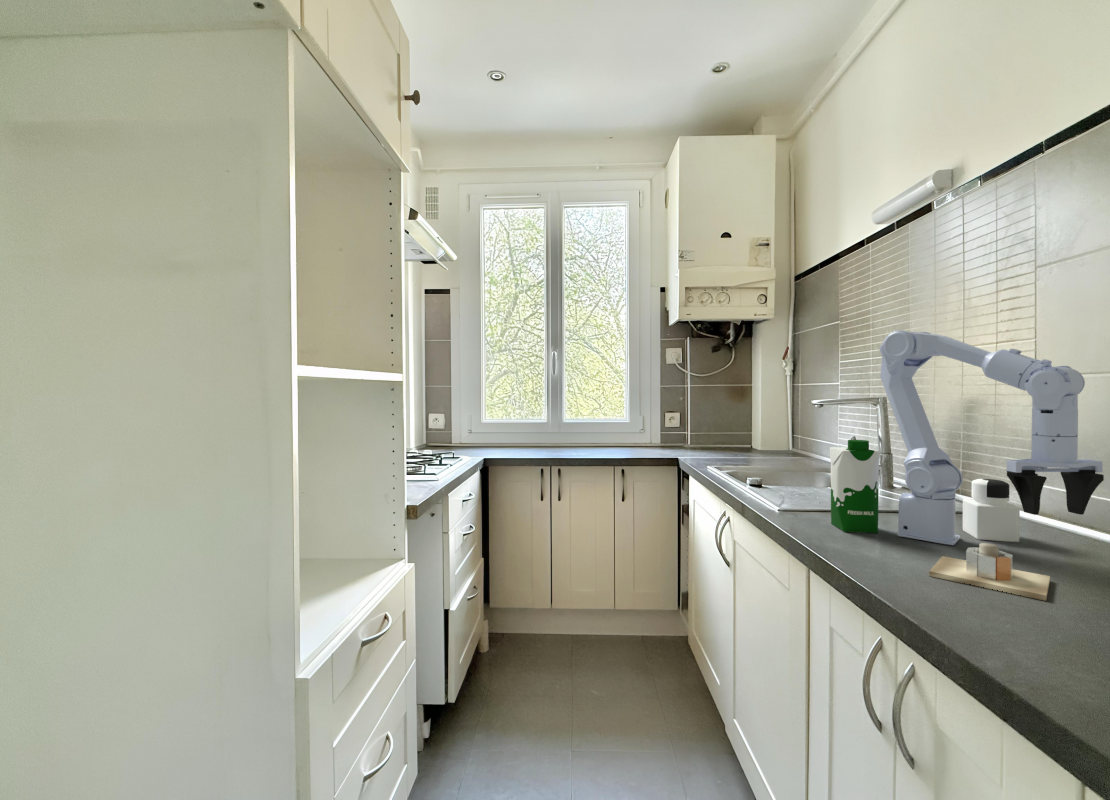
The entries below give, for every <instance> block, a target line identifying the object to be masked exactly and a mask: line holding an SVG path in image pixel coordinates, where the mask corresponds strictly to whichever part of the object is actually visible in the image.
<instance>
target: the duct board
mask: <svg viewBox="0 0 1110 800" xmlns="http://www.w3.org/2000/svg"><path fill="white" fill-rule="evenodd" d="M999 550H1000V549H999V545H997V544H993V543H987V542H981V543H979V554H982V555H988V556H994V557H999ZM928 576H929V577H933V578H937V579H942V580H947V581H951V582H956V583H961V584H964V583H965V585H969V584H971V585H970V586H974V585H975V586H974V587H978V586H979V588H983V587H984V589H988V590H992V589H993V591H997V590H998V591H999V592H1002V591H1003V592H1002V593H1006V592H1007V593H1008V594H1011V593H1012V595H1017V596H1020V595H1021V597H1024V598H1025V597H1026V598H1030V599H1036V600H1040V601H1045V602H1046V601H1047V598H1048V595H1049V594H1048V593H1049V588H1050V584H1051V576H1050V575H1046V574H1039V573H1035V572H1029V571H1024V570H1019V569H1015V568H1013V577H1012V580H992V579H987V578H982V577H978V576H975V575H973V574H971V573H969V572H967V571H966V559H960V558H955V557H950V556H945V555H944V556H943V555H941V557H940V558H939V559H938V560H937V562H935V564H934V565H933V566H932V567H931V568H930V569H929V571H928Z"/></svg>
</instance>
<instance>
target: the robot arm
mask: <svg viewBox="0 0 1110 800" xmlns="http://www.w3.org/2000/svg"><path fill="white" fill-rule="evenodd" d="M878 350H879V353H880V355H881V364H880V365H881V366H880V374H879V376H880V380H881V383H882V385H883V388H884V392H885V393H886V396H887V399H888V402H889V405H890V407H891V409H892V412H893V415H894V417H895V420H896V424H897V425H898V429H899V431H900V434H901V437H902V440H903V442H904V445H905V447H906V450H907V456H906V457H905V459H904V461H903V466H904V469H905V475H904V481H905V485H906V486H907V488H908V489H909V491H911V493H909V492H902V493H900V496H899V500H898V533H897V536H898V537H902V538H908V539H913V540H914V539H915V540H920V541H924V542H925V541H926V542H932V543H936V544H941V545H949V546H954V545H956V544H957V542H958V541H959V540H960V539H961V535H958V534H956V491H957V490H958V489H960V487H962V484H963V474H962V472H961V470H960V469H959V468H958V467H957V466H956V465H955V464H954V463H953V462H952V460H951V457H950V455H949V454H947V452H945V451H944V450H943V449H942V448H941V447H939V444H938V442H937V440H936V437H935V434H934V432H933V429H932V427H931V424H930V422H929V419H928V417H927V414H926V412H925V409H924V406H923V403H922V401H921V399H920V396H919V393H918V390H917V389H916V386H915V384H914V381H913V377H914V375H915V374H916V373H917V371H918V370H919V369H920V368H921V367H922V366H924V365H925V364H926V363H927V362H928V361H929V360H930V359H932V358H933V357H940V356H941V357H942V356H943V357H947V358H949V359H953V360H955V361H959V362H963V363H964V364H965V363H966V364H969V365H972V366H975V367H978V368H981V369H982V371H983V374H984V376H985V377H986V378H988V379H991V380H994V381H996V382H1000V383H1002V384H1005V385H1008V386H1010V387H1013V388H1016V389H1019V390H1021V391H1026V393H1027V394H1028V395H1029V396H1031V402H1032V404H1031V407H1032V408H1031V458H1024V459H1006V469H1005V470H1006V476H1007V477H1008V478H1007V479H1009V480H1010V482H1011V484H1012V485H1013V487H1014V488H1015V491H1016V493H1017V495H1018V497H1019V500H1020V503H1021V506H1022V510H1023V512H1024V513H1026V514H1030V515H1035V516H1037V515H1039V513H1040V509H1041V495H1042V491H1043V488H1044V485H1045V483H1046V481H1047V478H1048V477H1047V476H1041V475H1039V474H1038V473H1049V472H1050V473H1051V472H1052V473H1053V472H1054V473H1059V472H1060V473H1059V474H1060V476H1061V477H1062V480H1063V484H1064V488H1065V494H1066V496H1065V497H1066V507H1067V512H1068V513H1070V514H1071V513H1072V514H1075V515H1079V516H1080V515H1085V511H1086V508H1087V506H1088V503H1089V501H1090V499H1091V497H1092V495H1094V492H1095V491H1096V490H1097V488H1098V486H1100V484H1101V483H1103V482H1104V480H1105V479H1104V477H1105V476H1104V474H1101V473H1103V460H1093V459H1078V457H1079V456H1078V454H1079V448H1078V447H1079V446H1078V444H1079V437H1078V436H1079V409H1078V406H1079V404H1078V403H1079V400H1078V399H1079V396H1078V395H1079V394H1081V393H1082V391H1083V390H1084V388H1085V384H1086V382H1085V378H1084V376H1083V375H1082V373H1081V372H1079V371H1078V370H1076V369H1074V368H1072V367H1071V366H1068V365H1057V366H1053V365H1052V360H1049V359H1045V358H1043V359H1041V360H1040V359H1037V358H1034V357H1030V356H1027V355H1024V354H1021V353H1022V350H1019V349H1017V348H1009V349H1008V350H1007V349H999V350H996V351H994V352H991V351H988V350H986V349H984V348H983V349H982V348H980V347H977V346H974V345H971V344H968V343H967V342H966V343H965V342H963V341H960V340H958V339H955V338H952V337H949V336H947V335H946V336H945V335H942V334H938V333H937V334H936V333H930V332H927V331H906V330H904V329H903V330H901V329H900V330H894V331H892V332H890V333H889V334H888V335H886V337H885V338H884V340H883V341H882V343H881V345H880V346H879V348H878ZM1037 472H1038V473H1037Z"/></svg>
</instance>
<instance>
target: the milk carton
mask: <svg viewBox="0 0 1110 800" xmlns="http://www.w3.org/2000/svg"><path fill="white" fill-rule="evenodd" d="M829 455H830V456H829V457H830V524H831V525H832V526H834V527H836V528H838V529H839V530H840V531H842V532H843V533H870V534H871V533H872V534H874V533H875V534H878V533H879V491H880V490H879V485H880V484H879V481H880V480H879V477H880V476H879V474H880V473H879V470H880V469H879V468H880V466H879V465H880V458H881V450H877V449H873V448H870V441H869V440H867V439H865V440H864V439H848V440H847V447H846V446H845V447H841V446H840V447H839V446H838V447H837V446H836V447H835V446H831V447H830V446H829Z"/></svg>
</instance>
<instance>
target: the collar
mask: <svg viewBox="0 0 1110 800" xmlns="http://www.w3.org/2000/svg"><path fill="white" fill-rule="evenodd" d="M965 555H966V556H965V558H966V559H965V560H966V571H967V572H969V573H971V574H973V575H975V576H978V577H982V578H987V579H992V580H1012V577H1013V569H1014V567H1013V565H1014V561H1013V560H1014V555H1013V554H1011V553H1008V552H1005V551H1002V550H1000V549H999V557H994V556H988V555H982V554H979V547H967V548H966V550H965Z"/></svg>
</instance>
